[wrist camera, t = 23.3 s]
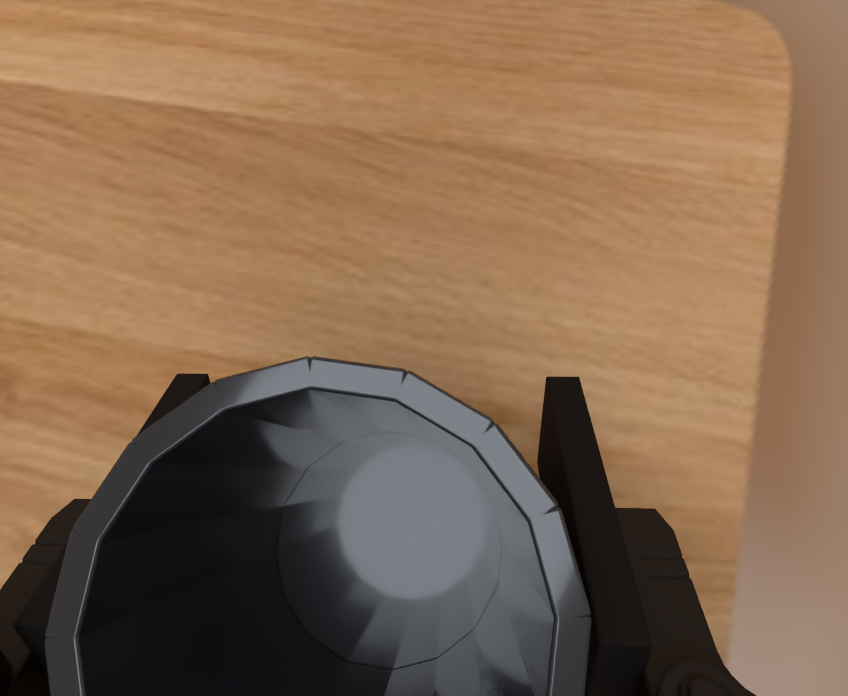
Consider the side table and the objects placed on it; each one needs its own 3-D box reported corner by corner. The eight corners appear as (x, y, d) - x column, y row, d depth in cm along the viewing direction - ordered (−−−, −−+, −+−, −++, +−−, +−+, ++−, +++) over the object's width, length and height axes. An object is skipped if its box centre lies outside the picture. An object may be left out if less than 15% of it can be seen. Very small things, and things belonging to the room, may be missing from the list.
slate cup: (561, 499, 18) (686, 531, 8) (433, 734, 17) (403, 1090, 7) (351, 374, 19) (242, 272, 9) (219, 587, 18) (-62, 724, 8)
